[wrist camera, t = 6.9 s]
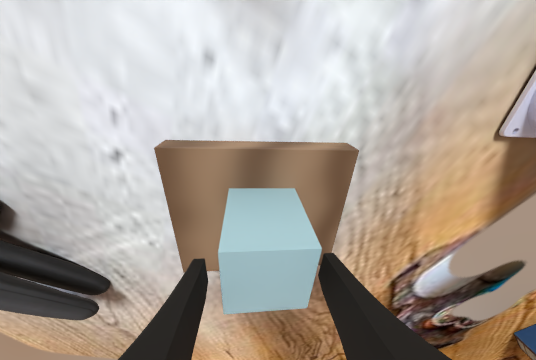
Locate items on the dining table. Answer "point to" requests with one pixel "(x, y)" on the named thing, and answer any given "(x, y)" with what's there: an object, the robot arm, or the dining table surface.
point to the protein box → (527, 340)
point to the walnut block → (249, 186)
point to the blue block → (266, 251)
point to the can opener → (50, 273)
